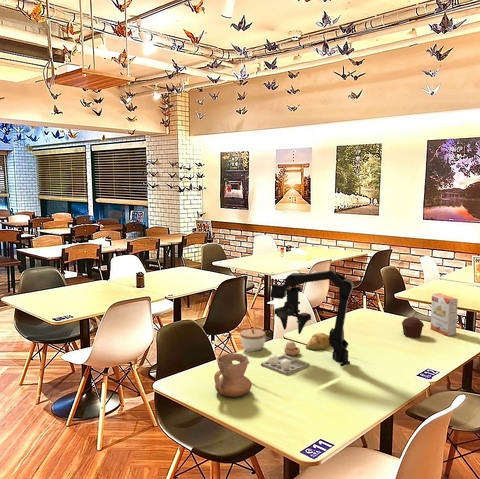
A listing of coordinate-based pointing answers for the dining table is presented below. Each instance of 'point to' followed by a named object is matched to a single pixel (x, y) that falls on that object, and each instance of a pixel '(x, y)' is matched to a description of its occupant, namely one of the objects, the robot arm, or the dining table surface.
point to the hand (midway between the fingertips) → (292, 331)
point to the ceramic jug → (232, 375)
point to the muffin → (412, 327)
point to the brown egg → (290, 345)
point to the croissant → (318, 341)
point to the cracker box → (444, 314)
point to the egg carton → (295, 365)
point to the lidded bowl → (252, 339)
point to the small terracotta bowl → (292, 353)
